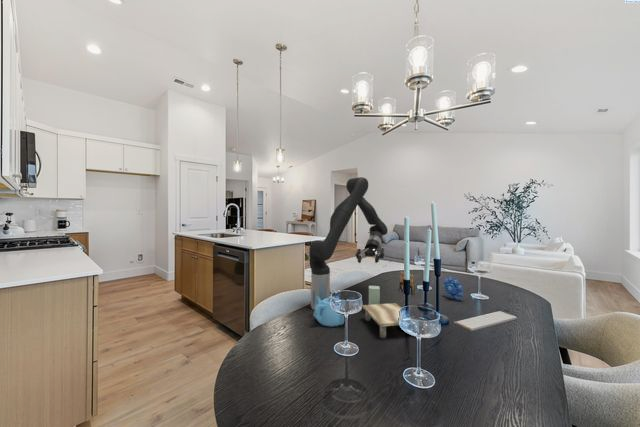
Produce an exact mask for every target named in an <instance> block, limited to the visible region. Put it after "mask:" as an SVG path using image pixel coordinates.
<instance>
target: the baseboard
mask: <svg viewBox="0 0 640 427" xmlns="http://www.w3.org/2000/svg"><path fill="white" fill-rule="evenodd" d="M498 310H500V308H498V309H497V311H494V312H491V313H486V314H482V315H481V314H480V315H478V316H474V317H469V318H466V319H461V320H457V321H453V324H456V325H458V326H460V327H462V328H464V329H465V330H468V331H471V332H473V331H477V330H480V329H484V328H488V327H492V326H496V325H500V324H503V323H507V322H510V321H513V320H517V319H518V315H517V314H515V315H514V314H511V313H510V311H509V310H505V309H504V311H505V312H503V311H498Z"/></svg>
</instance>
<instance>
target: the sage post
mask: <svg viewBox="0 0 640 427" xmlns="http://www.w3.org/2000/svg"><path fill="white" fill-rule="evenodd" d="M374 304H381V288H380V286H379V285H368V305H374Z"/></svg>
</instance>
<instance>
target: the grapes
mask: <svg viewBox="0 0 640 427" xmlns="http://www.w3.org/2000/svg"><path fill="white" fill-rule="evenodd" d="M443 281H444V283H442V288H444V294H446V295H447V296H449V298H450V299H451V300H456V301H460V300H461V298H463V297H464V295H465V294H464V292H463V291H464V287H463V286H462V285H461V284H460V281H459V280H458V279H454V278H453V277H452V276H449V277H448V278H444V280H443Z"/></svg>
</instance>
